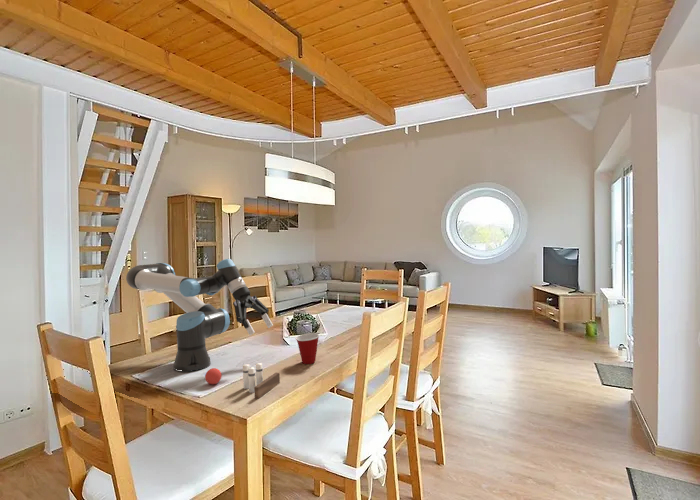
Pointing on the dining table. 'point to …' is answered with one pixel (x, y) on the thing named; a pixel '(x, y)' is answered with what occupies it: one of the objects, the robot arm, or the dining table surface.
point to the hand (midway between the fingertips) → (261, 330)
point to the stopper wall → (267, 385)
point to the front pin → (245, 376)
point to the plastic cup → (308, 347)
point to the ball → (213, 376)
